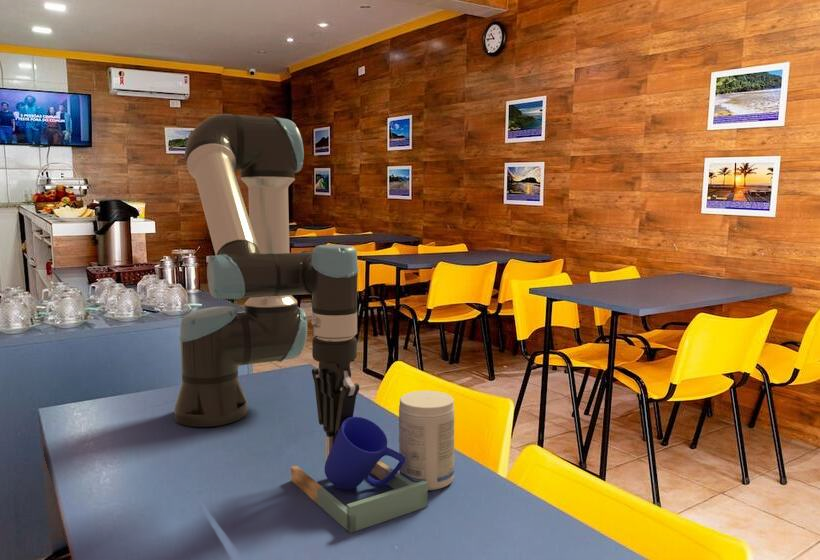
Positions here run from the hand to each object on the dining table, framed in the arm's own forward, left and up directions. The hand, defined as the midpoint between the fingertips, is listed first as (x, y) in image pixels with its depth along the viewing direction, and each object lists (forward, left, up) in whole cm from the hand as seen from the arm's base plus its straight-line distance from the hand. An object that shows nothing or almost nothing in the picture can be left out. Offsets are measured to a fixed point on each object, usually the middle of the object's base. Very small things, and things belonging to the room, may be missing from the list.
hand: (334, 468), depth 109 cm
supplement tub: (+10, +13, -2) cm, 16 cm away
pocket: (+7, 0, -2) cm, 7 cm away
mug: (+5, +1, -1) cm, 5 cm away
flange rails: (+7, 0, -2) cm, 7 cm away
